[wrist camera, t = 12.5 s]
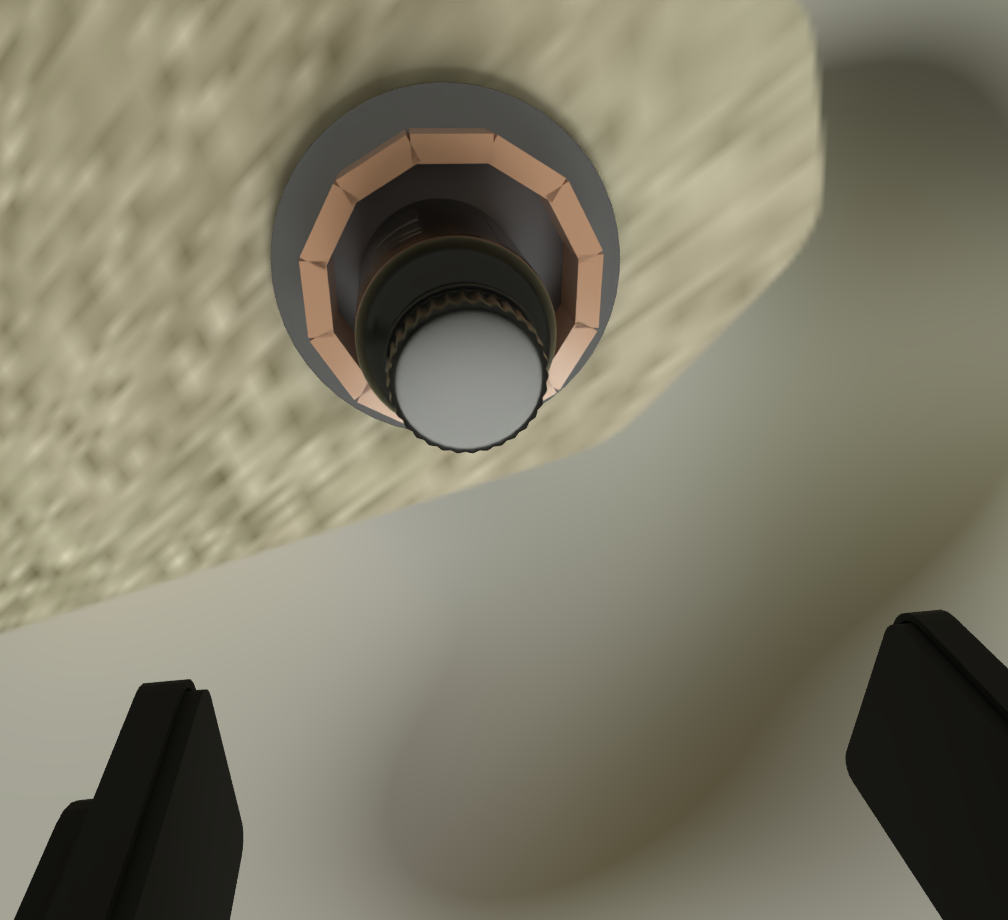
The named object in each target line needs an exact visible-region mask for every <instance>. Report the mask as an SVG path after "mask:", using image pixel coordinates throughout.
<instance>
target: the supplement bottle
mask: <svg viewBox="0 0 1008 920" xmlns="http://www.w3.org/2000/svg"><path fill="white" fill-rule="evenodd" d="M556 336H557V329H556V318H555V313H554V309H553V305H552V302H551V299H550V297H549V294H548V292H547V290H546V288H545V286H544V284H543V283H542V281H541V279H540V278H539V276H538V275H537V273H536V272H535V271H534V269H533V268H532V267H531V265H530V264H529V263H528V261H527V260H526V259H525V257H524V256H523V255H522V253H521V252H520V251H519V249H518V248H517V247H516V245H515V244H514V243H513V241H512V240H511V239H510V237H509V236H508V235H507V233H506V232H505V231H504V230H503V229H502V227H501V226H500V225H499V224H498V223H497V222H496V221H495V220H494V219H493V218H491V217H490V216H489V215H488V214H486V213H485V212H483V211H482V210H480V209H478V208H476V207H475V206H472V205H470V204H468V203H465V202H462V201H458V200H453V199H445V198H434V199H426V200H421V201H417V202H414V203H411V204H409V205H406V206H404V207H402V208H401V209H399V210H397V211H396V212H394V213H393V214H391V215H390V216H389V217H388V218H387V219H385V220H384V221H383V222H382V224H381V225H380V226H379V227H378V228H377V229H376V231H375V232H374V234H373V235H372V237H371V239H370V240H369V242H368V244H367V247H366V249H365V252H364V255H363V258H362V262H361V268H360V275H359V284H358V295H357V305H356V316H355V347H356V353H357V358H358V361H359V365H360V368H361V370H362V373H363V375H364V377H365V379H366V381H367V383H368V385H369V386H370V388H371V389H372V391H373V392H374V393H375V395H376V396H377V397H378V398H379V399H380V401H381V402H382V403H383V404H384V405H385V406H386V407H388V408H389V409H390V410H391V411H392V412H394V413H395V414H396V415H397V416H398V417H399V418H400V419H402V420H403V423H404V426H405V428H407V429H409V430H411V431H413V433H414V435H415V436H416V437H417V438H419V439H423V440H425V441H426V443H427V444H428V445H431V446H438V447H439V448H440V449H441V450H452V451H454V452H456V453H462V452H469V453H475V452H477V451H479V450H483V451H486V450H489V449H491V448H492V447H494V446H501V445H503V444H504V443H505V442H506V441H507V440H510V439H513V438H515V437H516V436H517V434H518V433H519V432H520V431H522V430H524V429H526V428H527V426H528V423H529V422H530V421H531V420H533V419H534V418H535V417H536V414H537V410H538V409H539V408H540V407H541V406H542V405H543V396H544V395H545V393H546V392H547V384H546V382H547V380H548V377H549V373H548V372H549V369H550V367H551V364H552V361H553V357H554V353H555V347H556Z"/></svg>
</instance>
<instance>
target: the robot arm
mask: <svg viewBox="0 0 1008 920" xmlns="http://www.w3.org/2000/svg"><path fill="white" fill-rule="evenodd" d="M846 766H847V770H848V773H849V776H850V778H851V779H852V781H853V783H854V784H855V786H856V787H857V789H858V790H859V792H860V793H861V795H862V797H863V798H864V800H865V801H866V803H867V804H868V806H869V807H870V809H871V810H872V812H873V813H874V815H875V817H876V818H877V819H878V821H879V823H880V824H881V826H882V827H883V829H884V830H885V832H886V833H887V835H888V836H889V838H890V839H891V841H892V843H893V844H894V846H895V847H896V849H897V850H898V852H899V853H900V855H901V856H902V858H903V859H904V861H905V862H906V864H907V866H908V867H909V869H910V870H911V871H912V873H913V875H914V876H915V878H916V879H917V881H918V882H919V884H920V885H921V887H922V888H923V890H924V892H925V893H926V895H927V896H928V897H929V899H930V901H931V902H932V904H933V905H934V907H935V908H936V910H937V911H938V913H939V914H940V916H941V918H942V919H943V920H1008V668H1007V667H1006V666H1005V665H1003V663H1002V662H1000V661H999V660H998V659H997V658H996V657H995V656H994V655H993V654H992V653H991V652H990V651H989V650H988V649H987V648H986V647H985V646H984V645H983V644H982V643H981V642H980V641H979V640H978V639H977V638H976V637H975V636H974V635H973V634H971V633H970V632H969V631H968V630H967V629H966V628H965V627H964V626H963V625H962V624H961V623H960V622H959V621H958V620H957V619H956V618H955V617H954V616H952V615H951V614H950V613H948V612H946V611H943V610H933V611H922V612H912V613H903V614H900V615H899V616H898V617H897V618H896V620H895V621H894V623H893V625H890V626H889V627H887V629H886V631H885V634H884V637H883V640H882V643H881V646H880V649H879V652H878V655H877V658H876V661H875V664H874V667H873V671H872V674H871V677H870V680H869V683H868V687H867V689H866V692H865V695H864V698H863V702H862V705H861V708H860V711H859V714H858V717H857V720H856V723H855V726H854V730H853V733H852V736H851V739H850V742H849V745H848V748H847V751H846ZM242 850H243V826H242V821H241V817H240V813H239V809H238V805H237V800H236V796H235V792H234V788H233V784H232V780H231V776H230V772H229V768H228V764H227V760H226V756H225V752H224V748H223V744H222V740H221V736H220V731H219V728H218V724H217V719H216V715H215V711H214V707H213V703H212V699H211V696H210V693H209V691H208V690H196V688H195V686H194V683H193V682H192V681H191V680H190V679H187V680H176V681H165V682H154V683H143V684H142V685H141V686H140V687H139V689H138V690H137V692H136V694H135V697H134V699H133V702H132V704H131V707H130V709H129V712H128V714H127V717H126V719H125V722H124V724H123V727H122V729H121V731H120V734H119V736H118V739H117V741H116V744H115V746H114V749H113V751H112V754H111V756H110V759H109V761H108V764H107V766H106V768H105V771H104V774H103V776H102V778H101V781H100V783H99V786H98V789H97V791H96V793H95V796H94V798H93V799H86V800H78V801H75V802H72V803H70V805H69V806H68V807H67V808H66V809H65V810H64V811H63V812H62V814H61V816H60V818H59V820H58V822H57V823H56V825H55V828H54V830H53V832H52V834H51V837H50V839H49V841H48V843H47V846H46V848H45V850H44V853H43V855H42V857H41V860H40V862H39V864H38V866H37V869H36V871H35V873H34V875H33V878H32V880H31V882H30V884H29V887H28V889H27V891H26V893H25V896H24V898H23V900H22V902H21V905H20V907H19V909H18V912H17V914H16V916H15V918H14V920H230V916H231V911H232V905H233V900H234V895H235V889H236V884H237V878H238V873H239V868H240V862H241V857H242Z"/></svg>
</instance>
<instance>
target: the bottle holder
mask: <svg viewBox="0 0 1008 920" xmlns="http://www.w3.org/2000/svg"><path fill="white" fill-rule="evenodd" d="M434 198H445V199H453V200H458V201H462V202H465V203H468V204H470V205H472V206H475V207H476V208H478V209H480V210H482V211H483V212H485V213H486V214H488V215H489V216H490V217H491V218H493V219H494V220H495V221H496V222H497V223H498V224H499V225H500V226H501V227H502V229H503V230H504V231H505V232H506V233H507V235H508V236H509V237H510V239H511V240H512V241H513V243H514V244H515V245H516V247H517V248H518V249H519V251H520V252H521V253H522V255H523V256H524V257H525V259H526V260H527V261H528V263H529V264H530V265H531V267H532V268H533V269H534V271H535V272H536V273H537V275H538V276H539V278H540V279H541V281H542V283H543V284H544V286H545V288H546V290H547V292H548V294H549V297H550V299H551V302H552V305H553V309H554V313H555V318H556V329H557V336H556V347H555V353H554V357H553V361H552V364H551V367H550V369H549V372H548V373H549V377H548V380H547V382H546V384H547V392H546V393H545V395H544V396H543V403H545V402H546V401H548V400H549V399H551V398H552V397H553V396H554V395H555V394H557V393H558V392H559V391H560V390H561V389H563V388H564V387H565V386H566V385H567V384H568V383H569V382H570V381H571V380H572V379H573V378H574V376H575V375H576V374H577V373H578V372H579V371H580V370H581V368H582V367H583V366H584V364H585V363H586V362H587V360H588V359H589V357H590V356H591V355H592V353H593V351H594V350H595V348H596V346H597V344H598V343H599V341H600V339H601V337H602V335H603V333H604V331H605V328H606V326H607V323H608V321H609V318H610V316H611V312H612V309H613V305H614V301H615V298H616V294H617V287H618V280H619V271H620V248H619V239H618V230H617V225H616V221H615V217H614V212H613V208H612V205H611V202H610V200H609V197H608V195H607V192H606V189H605V187H604V184H603V182H602V180H601V179H600V177H599V175H598V173H597V171H596V170H595V168H594V166H593V164H592V163H591V161H590V160H589V159H588V157H587V156H586V155H585V153H584V152H583V150H582V149H581V148H580V146H579V145H578V144H577V143H576V142H575V141H574V140H573V139H572V138H571V137H570V136H569V135H568V134H567V133H566V132H565V131H564V130H563V129H562V128H561V126H559V125H558V124H557V123H555V122H554V121H553V120H551V119H550V118H549V117H547V116H546V115H545V114H544V113H542V112H541V111H539V110H537V109H536V108H534V107H532V106H530V105H529V104H527V103H525V102H523V101H521V100H520V99H517V98H515V97H512V96H510V95H507V94H505V93H502V92H499V91H497V90H493V89H489V88H484V87H480V86H476V85H471V84H464V83H451V82H435V83H421V84H415V85H410V86H406V87H401V88H397V89H393V90H391V91H388V92H385V93H383V94H380V95H378V96H375V97H372V98H370V99H369V100H367V101H365V102H363V103H361V104H360V105H358V106H356V107H354V108H353V109H351V110H349V111H348V112H347V113H346V114H344V115H343V116H342V117H340V118H339V119H338V120H336V121H335V122H334V123H333V124H331V125H330V126H329V127H328V128H327V129H326V130H325V131H324V132H323V133H322V134H321V135H320V136H319V137H318V138H317V139H316V140H315V142H314V143H313V144H312V145H311V146H310V147H309V149H308V150H307V151H306V153H305V154H304V156H303V157H302V158H301V160H300V161H299V163H298V164H297V165H296V167H295V169H294V171H293V173H292V175H291V177H290V179H289V181H288V183H287V185H286V187H285V189H284V192H283V195H282V198H281V201H280V203H279V206H278V209H277V213H276V218H275V223H274V228H273V233H272V245H271V269H272V282H273V287H274V292H275V297H276V301H277V306H278V308H279V311H280V314H281V317H282V320H283V323H284V326H285V328H286V330H287V332H288V334H289V336H290V338H291V340H292V342H293V344H294V346H295V347H296V349H297V350H298V352H299V353H300V355H301V356H302V358H303V359H304V361H305V362H306V364H307V365H308V366H309V368H310V369H311V370H312V371H313V372H314V373H315V374H316V376H317V377H318V378H319V379H320V380H321V381H322V382H323V383H324V384H325V385H326V386H327V387H328V388H330V389H331V390H332V391H333V392H334V393H335V394H336V395H337V396H339V397H340V398H341V399H343V400H344V401H346V402H347V403H349V404H350V405H352V406H353V407H355V408H356V409H358V410H360V411H362V412H364V413H366V414H367V415H369V416H371V417H373V418H375V419H378V420H380V421H383V422H386V423H388V424H391V425H394V426H397V427H401V428H405V426H404V423H403V420H402V419H400V418H399V417H398V416H397V415H396V414H395V413H394V412H392V411H391V410H390V409H389V408H388V407H386V406H385V405H384V404H383V403H382V402H381V401H380V399H379V398H378V397H377V396H376V395H375V393H374V392H373V391H372V389H371V388H370V386H369V385H368V383H367V381H366V379H365V377H364V375H363V373H362V370H361V368H360V365H359V361H358V358H357V353H356V347H355V316H356V305H357V295H358V284H359V275H360V268H361V262H362V258H363V255H364V252H365V249H366V247H367V244H368V242H369V240H370V239H371V237H372V235H373V234H374V232H375V231H376V229H377V228H378V227H379V226H380V225H381V224H382V222H383V221H384V220H385V219H387V218H388V217H389V216H390V215H391V214H393V213H394V212H396V211H397V210H399V209H401V208H402V207H404V206H406V205H409V204H411V203H414V202H417V201H421V200H426V199H434ZM405 429H407V428H405Z"/></svg>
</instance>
